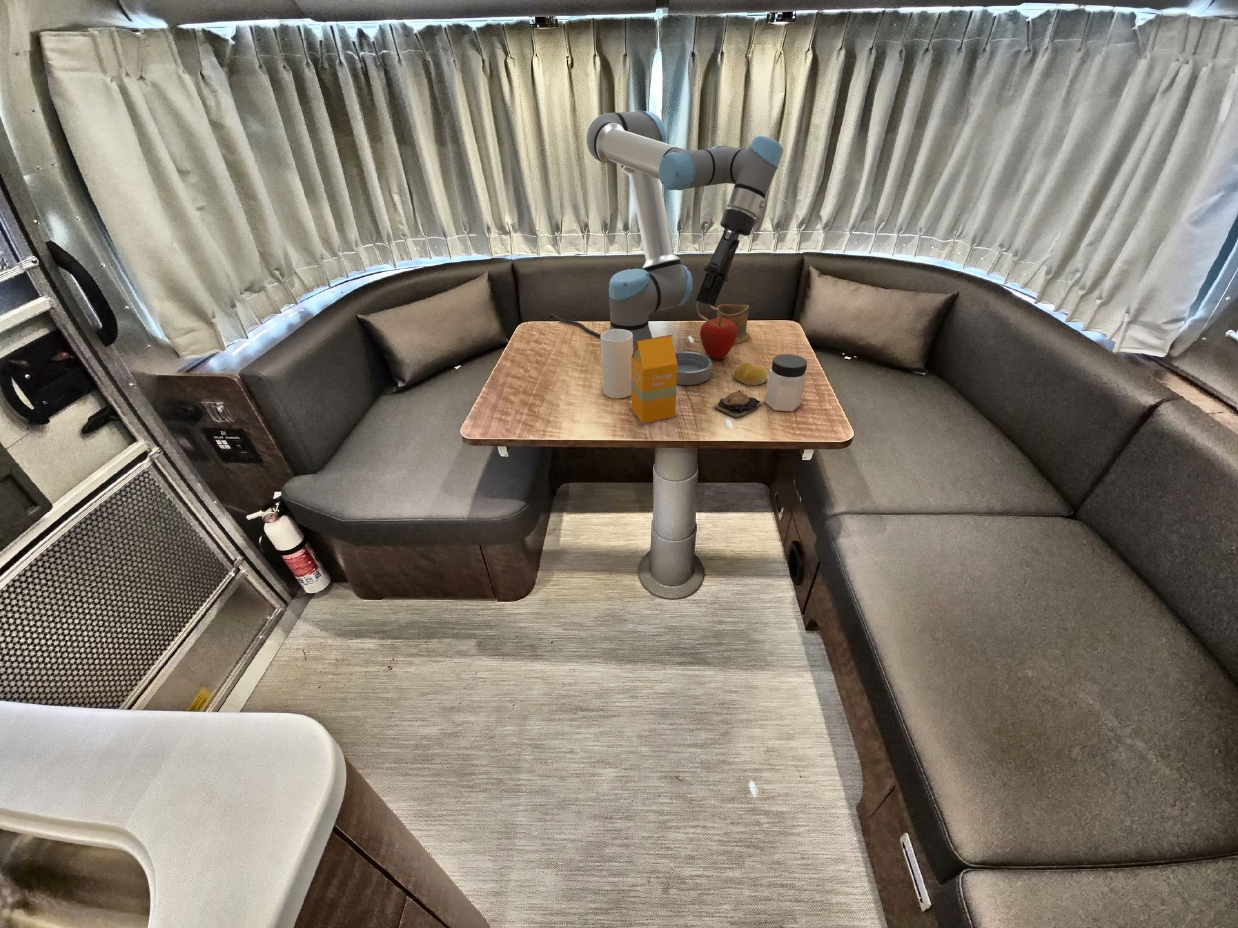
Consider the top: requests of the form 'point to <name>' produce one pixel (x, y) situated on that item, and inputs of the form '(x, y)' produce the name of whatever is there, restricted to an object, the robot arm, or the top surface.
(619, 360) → the cup
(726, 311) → the mug
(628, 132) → the robot arm
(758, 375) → the bread roll
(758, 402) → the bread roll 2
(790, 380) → the jar
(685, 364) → the pan
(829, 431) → the top surface
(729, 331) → the apple
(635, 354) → the orange juice
